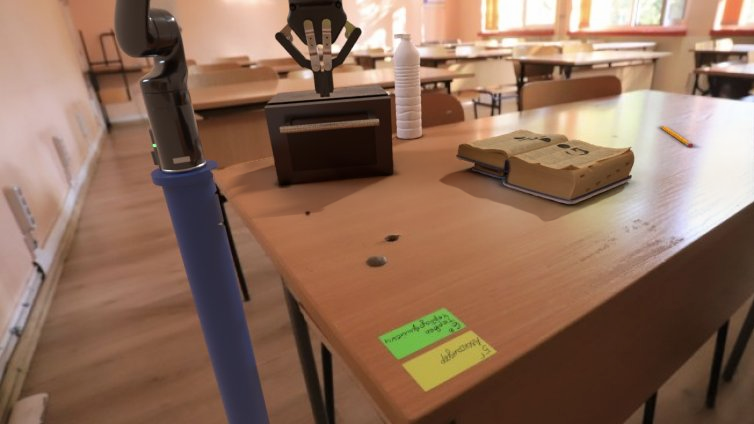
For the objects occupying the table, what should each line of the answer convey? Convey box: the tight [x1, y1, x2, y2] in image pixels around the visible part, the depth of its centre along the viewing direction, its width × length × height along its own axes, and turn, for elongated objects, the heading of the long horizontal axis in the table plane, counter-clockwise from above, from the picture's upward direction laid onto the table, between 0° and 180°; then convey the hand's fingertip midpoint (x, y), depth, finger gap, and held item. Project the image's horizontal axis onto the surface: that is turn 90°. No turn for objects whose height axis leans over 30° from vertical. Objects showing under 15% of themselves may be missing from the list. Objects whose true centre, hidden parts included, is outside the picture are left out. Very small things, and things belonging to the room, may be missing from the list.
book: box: [455, 129, 635, 205], centre depth 73 cm, size 25×17×6 cm
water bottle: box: [392, 33, 423, 140], centre depth 104 cm, size 9×6×25 cm
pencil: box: [661, 125, 694, 148], centre depth 93 cm, size 1×19×1 cm, turn 163°
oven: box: [266, 84, 389, 106], centre depth 86 cm, size 16×22×15 cm
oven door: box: [263, 95, 394, 186], centre depth 75 cm, size 6×22×15 cm, turn 95°
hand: (325, 96), depth 64 cm, fingers closed
